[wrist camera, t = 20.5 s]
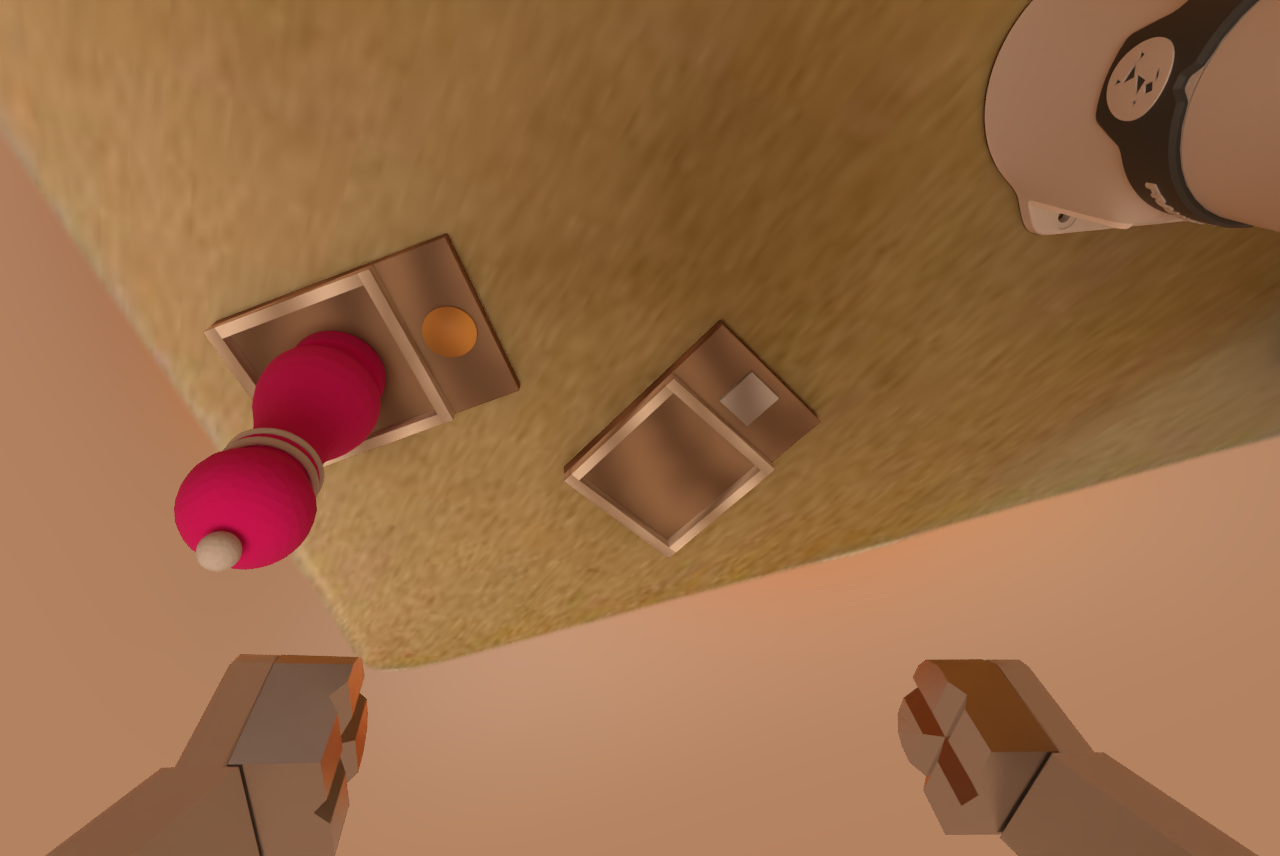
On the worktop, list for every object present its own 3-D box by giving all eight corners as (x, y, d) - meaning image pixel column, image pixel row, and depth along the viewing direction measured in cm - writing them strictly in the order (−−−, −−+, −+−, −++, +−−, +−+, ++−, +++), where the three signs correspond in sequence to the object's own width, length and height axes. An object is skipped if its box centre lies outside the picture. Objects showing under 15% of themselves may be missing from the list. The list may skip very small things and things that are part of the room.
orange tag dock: (446, 233, 44) (442, 241, 43) (519, 384, 50) (518, 396, 48) (216, 321, 46) (203, 332, 44) (313, 458, 51) (304, 473, 50)
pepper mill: (344, 436, 50) (228, 648, 32) (259, 366, 46) (79, 559, 29) (416, 378, 48) (334, 568, 31) (333, 301, 45) (189, 464, 27)
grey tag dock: (719, 320, 49) (725, 330, 48) (816, 415, 54) (824, 427, 52) (564, 467, 54) (564, 481, 52) (665, 543, 59) (668, 558, 57)
